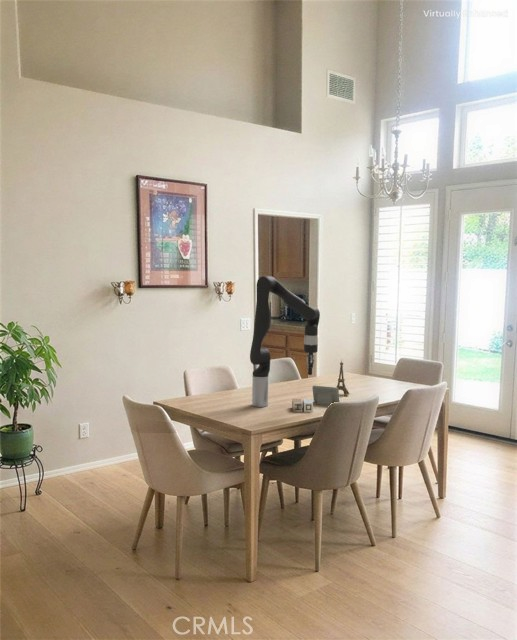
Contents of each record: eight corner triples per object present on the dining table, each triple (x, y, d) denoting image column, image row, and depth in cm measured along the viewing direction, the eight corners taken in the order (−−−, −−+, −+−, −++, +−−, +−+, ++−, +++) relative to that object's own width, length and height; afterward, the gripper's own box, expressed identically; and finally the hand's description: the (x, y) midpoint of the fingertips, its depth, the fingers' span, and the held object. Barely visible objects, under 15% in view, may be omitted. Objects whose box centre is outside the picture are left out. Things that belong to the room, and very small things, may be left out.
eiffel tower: (349, 393, 361) (351, 355, 359) (348, 396, 351) (349, 357, 349) (333, 392, 364) (334, 354, 362) (331, 395, 354) (332, 356, 352)
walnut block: (293, 411, 308) (292, 407, 318) (302, 411, 308) (300, 407, 318) (293, 402, 308) (292, 398, 318) (302, 402, 308) (301, 399, 318)
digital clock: (341, 404, 329) (341, 386, 328) (333, 407, 321) (334, 388, 321) (317, 400, 338) (317, 383, 337) (309, 403, 331) (309, 385, 330)
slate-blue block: (303, 411, 308) (302, 407, 318) (312, 411, 308) (311, 407, 318) (304, 402, 308) (302, 399, 318) (313, 402, 308) (311, 399, 318)
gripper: (302, 341, 310) (302, 372, 311) (304, 344, 297) (304, 376, 298) (316, 342, 310) (315, 372, 311) (318, 345, 297) (318, 377, 298)
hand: (309, 374), depth 305 cm, fingers closed
